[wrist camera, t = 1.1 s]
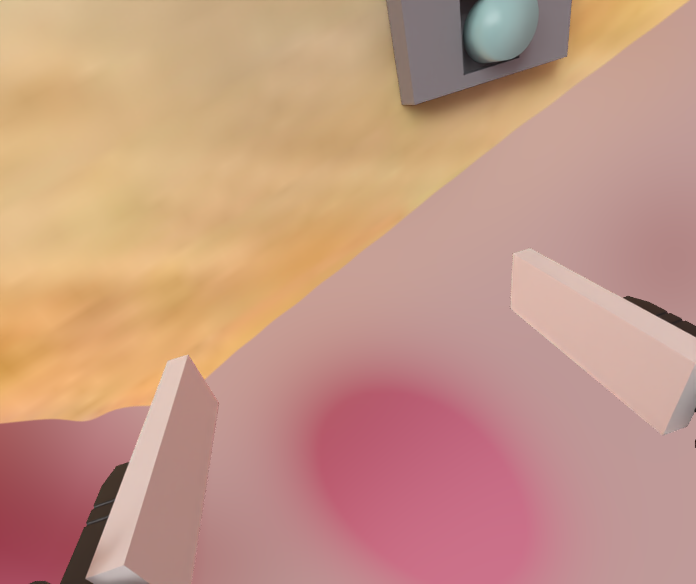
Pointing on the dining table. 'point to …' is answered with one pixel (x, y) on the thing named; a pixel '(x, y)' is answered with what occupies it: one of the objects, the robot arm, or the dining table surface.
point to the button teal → (499, 29)
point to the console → (461, 46)
